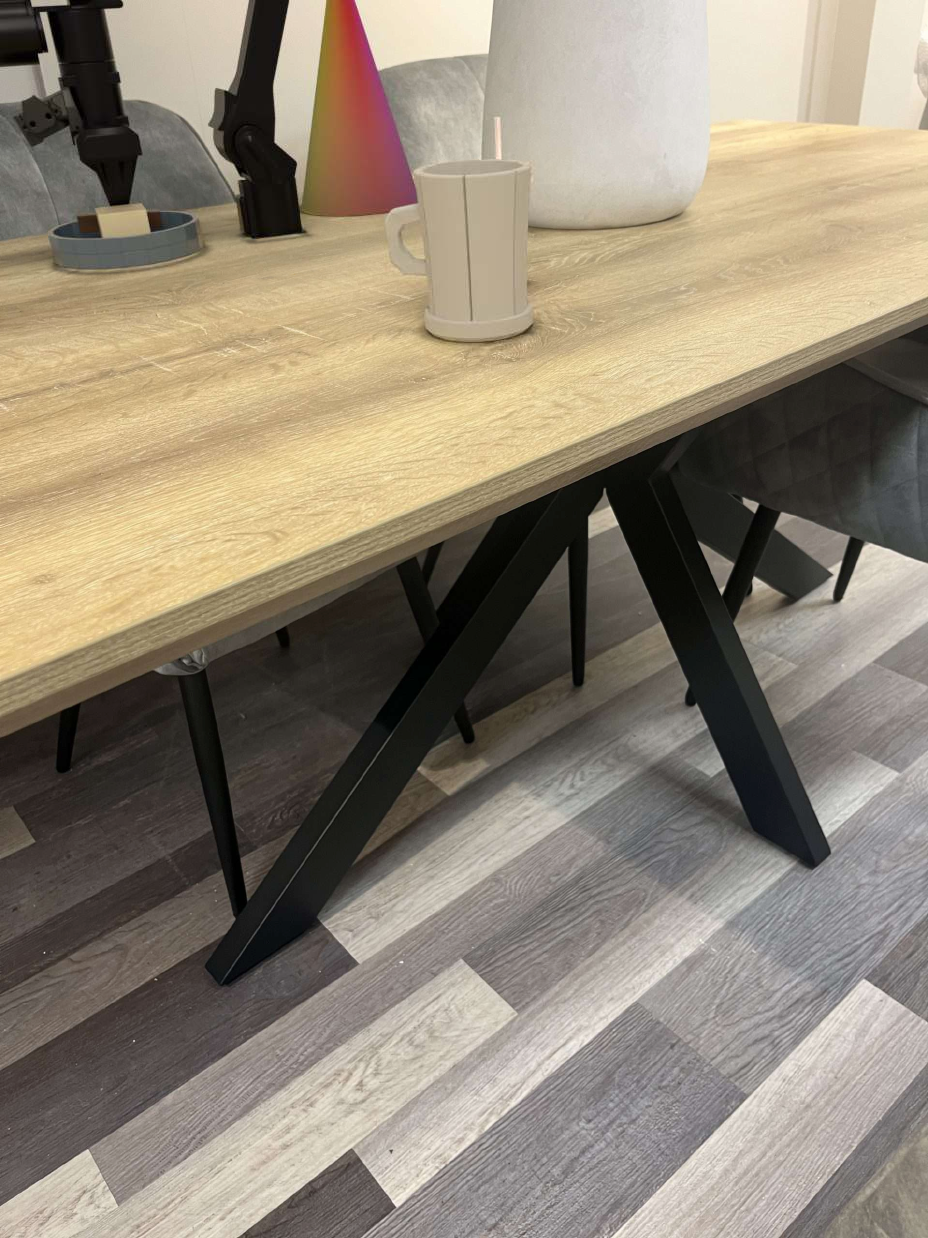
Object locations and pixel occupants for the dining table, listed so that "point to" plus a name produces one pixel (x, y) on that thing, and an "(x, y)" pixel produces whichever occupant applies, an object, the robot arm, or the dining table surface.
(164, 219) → the bowl
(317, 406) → the dining table surface
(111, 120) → the robot arm
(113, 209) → the block
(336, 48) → the decorative cone
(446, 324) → the cup
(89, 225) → the stick
